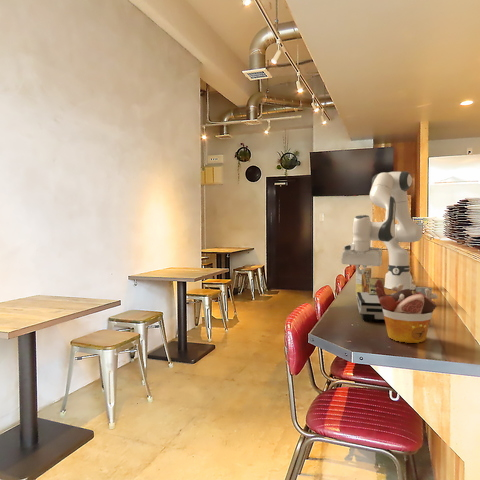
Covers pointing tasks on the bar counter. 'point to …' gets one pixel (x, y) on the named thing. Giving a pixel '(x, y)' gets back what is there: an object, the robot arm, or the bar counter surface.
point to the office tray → (370, 306)
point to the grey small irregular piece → (423, 290)
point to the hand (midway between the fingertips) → (360, 274)
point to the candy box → (363, 280)
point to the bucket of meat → (406, 313)
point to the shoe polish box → (372, 285)
